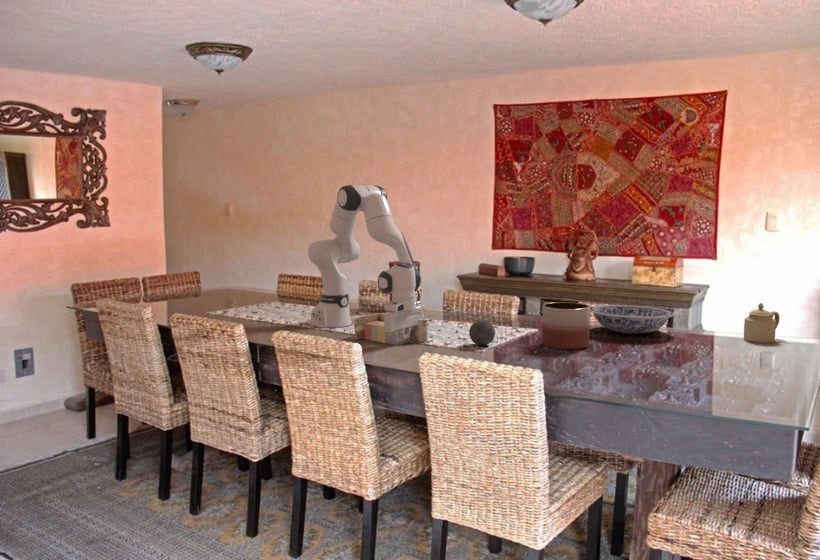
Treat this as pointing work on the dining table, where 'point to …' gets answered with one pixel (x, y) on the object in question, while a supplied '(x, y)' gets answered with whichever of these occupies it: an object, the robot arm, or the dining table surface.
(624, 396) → the dining table surface
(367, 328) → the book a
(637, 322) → the ceramic bowl
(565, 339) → the planter
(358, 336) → the shelf corner
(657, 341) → the dining table surface
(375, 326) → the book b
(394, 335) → the block
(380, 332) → the book
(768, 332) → the sugar bowl
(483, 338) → the decorative ball
